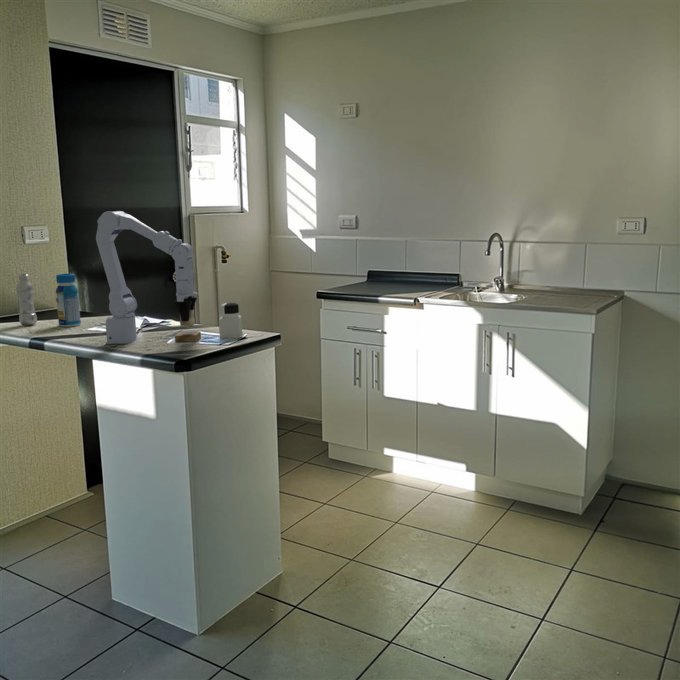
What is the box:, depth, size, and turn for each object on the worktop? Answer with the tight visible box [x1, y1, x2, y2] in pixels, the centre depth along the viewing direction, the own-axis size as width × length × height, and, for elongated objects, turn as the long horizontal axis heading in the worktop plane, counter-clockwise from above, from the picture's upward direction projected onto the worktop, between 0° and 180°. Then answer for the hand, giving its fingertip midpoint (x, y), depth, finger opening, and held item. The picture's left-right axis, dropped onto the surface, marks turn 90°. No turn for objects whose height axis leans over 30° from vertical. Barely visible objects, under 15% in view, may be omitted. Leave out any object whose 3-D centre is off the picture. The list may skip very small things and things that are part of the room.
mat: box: [167, 336, 206, 345], centre depth 243 cm, size 10×12×1 cm
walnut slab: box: [174, 331, 202, 343], centre depth 243 cm, size 7×7×2 cm
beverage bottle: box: [55, 273, 82, 328], centre depth 279 cm, size 8×8×20 cm
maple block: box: [179, 309, 196, 327], centre depth 242 cm, size 4×4×5 cm
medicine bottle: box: [218, 302, 243, 339], centre depth 250 cm, size 7×7×12 cm
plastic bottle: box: [15, 273, 38, 327], centre depth 281 cm, size 6×7×20 cm
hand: (187, 320), depth 242 cm, fingers closed on maple block, 4 cm apart
